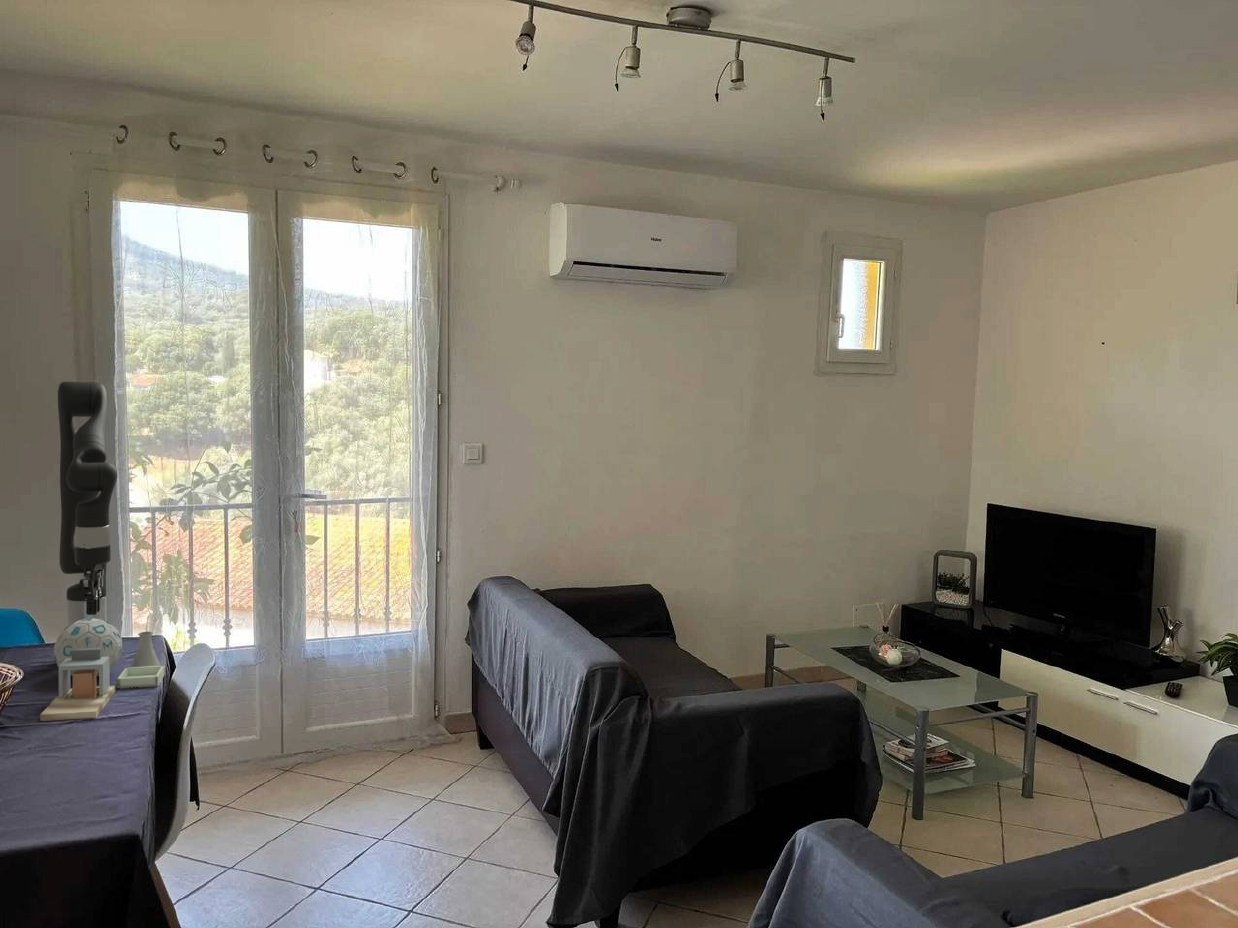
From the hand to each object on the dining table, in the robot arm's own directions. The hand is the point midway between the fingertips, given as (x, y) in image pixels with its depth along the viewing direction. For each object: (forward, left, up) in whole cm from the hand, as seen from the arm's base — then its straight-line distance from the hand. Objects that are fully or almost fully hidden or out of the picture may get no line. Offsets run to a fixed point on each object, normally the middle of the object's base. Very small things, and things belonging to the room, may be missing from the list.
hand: (93, 612), depth 215 cm
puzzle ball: (-10, -4, -19) cm, 22 cm away
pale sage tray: (-3, +10, -19) cm, 22 cm away
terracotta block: (+8, 0, -19) cm, 21 cm away
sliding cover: (+8, 0, -17) cm, 19 cm away
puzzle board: (+12, 0, -19) cm, 23 cm away
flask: (-13, +9, -19) cm, 25 cm away
